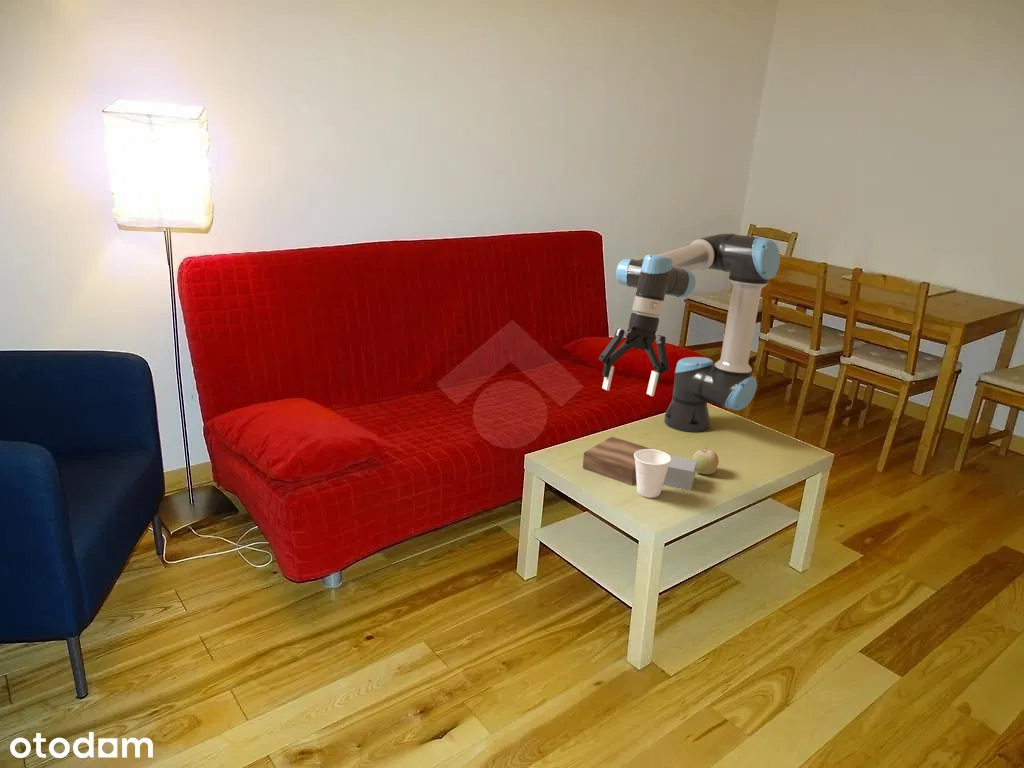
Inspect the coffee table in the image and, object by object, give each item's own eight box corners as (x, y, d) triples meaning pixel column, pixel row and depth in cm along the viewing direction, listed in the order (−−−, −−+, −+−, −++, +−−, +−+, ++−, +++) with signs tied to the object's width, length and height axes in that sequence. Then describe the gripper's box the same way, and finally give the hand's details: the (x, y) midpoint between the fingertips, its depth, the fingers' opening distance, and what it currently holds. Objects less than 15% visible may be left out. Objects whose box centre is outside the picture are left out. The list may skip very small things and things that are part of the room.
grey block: (666, 473, 207) (668, 455, 205) (694, 479, 204) (697, 460, 202) (661, 485, 200) (664, 466, 198) (690, 491, 197) (693, 471, 195)
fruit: (709, 480, 204) (713, 455, 201) (686, 472, 208) (689, 447, 206) (721, 472, 209) (725, 447, 206) (699, 464, 214) (702, 439, 211)
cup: (622, 490, 196) (626, 453, 192) (648, 481, 201) (652, 446, 198) (648, 505, 188) (653, 467, 185) (674, 496, 194) (679, 459, 190)
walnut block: (610, 451, 220) (611, 436, 218) (657, 466, 211) (659, 451, 209) (582, 468, 208) (583, 452, 206) (631, 485, 199) (633, 469, 197)
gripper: (609, 309, 180) (592, 390, 184) (693, 323, 188) (675, 400, 192) (597, 305, 187) (580, 383, 191) (678, 319, 195) (661, 393, 199)
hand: (628, 392), depth 192 cm, fingers open, 13 cm apart
